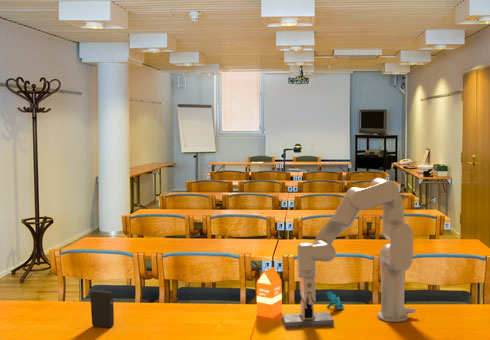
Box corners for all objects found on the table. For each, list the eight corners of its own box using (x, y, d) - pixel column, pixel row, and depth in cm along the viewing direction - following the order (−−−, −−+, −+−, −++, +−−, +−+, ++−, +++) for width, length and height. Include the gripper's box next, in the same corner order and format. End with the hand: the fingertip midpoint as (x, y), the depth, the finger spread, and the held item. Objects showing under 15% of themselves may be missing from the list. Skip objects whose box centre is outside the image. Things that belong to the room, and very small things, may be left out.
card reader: (115, 325, 253) (114, 290, 251) (110, 328, 249) (108, 293, 248) (96, 323, 256) (95, 289, 254) (91, 326, 252) (89, 291, 251)
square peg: (311, 317, 254) (311, 299, 253) (313, 321, 249) (313, 302, 249) (300, 318, 253) (300, 299, 253) (303, 321, 249) (302, 303, 248)
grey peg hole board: (328, 317, 257) (327, 311, 257) (333, 325, 248) (333, 319, 247) (281, 320, 256) (281, 314, 255) (285, 328, 246) (285, 322, 245)
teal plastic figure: (340, 309, 262) (325, 291, 266) (331, 318, 264) (316, 300, 267) (348, 305, 272) (333, 288, 276) (338, 314, 274) (324, 296, 277)
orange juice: (282, 312, 266) (281, 267, 264) (272, 318, 258) (271, 272, 256) (266, 309, 270) (266, 265, 268) (256, 315, 263) (255, 270, 261)
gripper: (320, 277, 242) (320, 322, 243) (311, 267, 258) (312, 308, 260) (301, 278, 241) (302, 323, 243) (294, 268, 258) (294, 309, 259)
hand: (307, 315), depth 251 cm, fingers open, 4 cm apart
